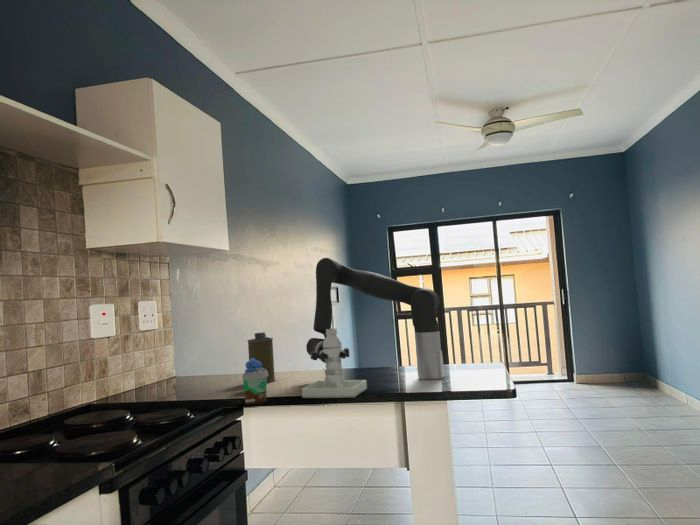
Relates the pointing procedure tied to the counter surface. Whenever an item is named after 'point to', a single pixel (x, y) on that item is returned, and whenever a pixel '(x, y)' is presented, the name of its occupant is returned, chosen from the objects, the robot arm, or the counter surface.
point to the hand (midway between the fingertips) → (334, 356)
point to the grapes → (253, 366)
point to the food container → (255, 386)
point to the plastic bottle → (333, 360)
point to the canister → (263, 353)
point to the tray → (334, 390)
